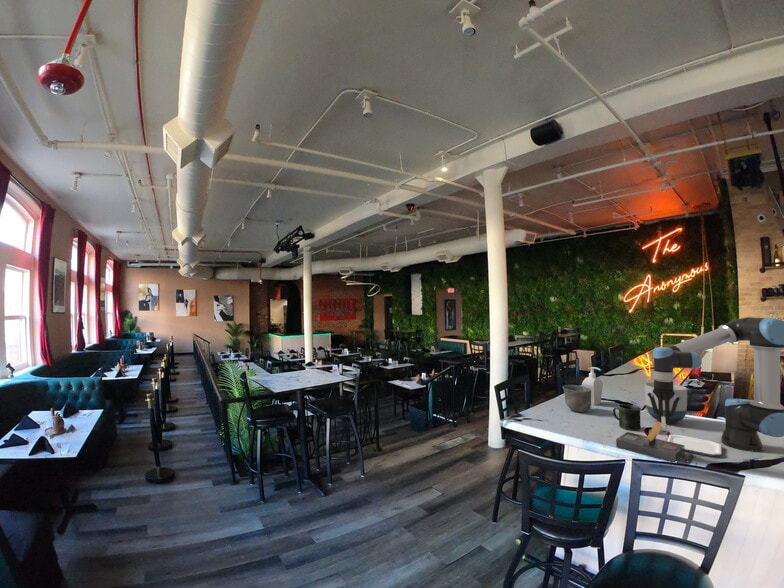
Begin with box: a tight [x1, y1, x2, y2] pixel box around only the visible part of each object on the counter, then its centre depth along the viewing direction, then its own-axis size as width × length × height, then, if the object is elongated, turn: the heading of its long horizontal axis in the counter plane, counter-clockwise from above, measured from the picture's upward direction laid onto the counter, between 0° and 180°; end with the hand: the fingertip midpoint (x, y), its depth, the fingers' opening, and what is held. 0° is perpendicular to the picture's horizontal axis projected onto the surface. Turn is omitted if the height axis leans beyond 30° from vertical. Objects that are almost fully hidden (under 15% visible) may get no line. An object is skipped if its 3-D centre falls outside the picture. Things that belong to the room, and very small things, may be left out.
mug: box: [612, 404, 642, 432], centre depth 212 cm, size 11×15×12 cm
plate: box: [666, 434, 723, 457], centre depth 183 cm, size 21×21×2 cm
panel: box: [615, 431, 686, 463], centre depth 179 cm, size 24×16×7 cm, turn 40°
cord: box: [685, 453, 694, 463], centre depth 169 cm, size 1×10×1 cm, turn 131°
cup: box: [562, 384, 592, 413], centre depth 245 cm, size 18×18×15 cm
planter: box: [644, 381, 688, 424], centre depth 222 cm, size 20×20×21 cm
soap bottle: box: [581, 366, 604, 406], centre depth 261 cm, size 12×10×26 cm
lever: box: [646, 420, 662, 442], centre depth 178 cm, size 2×8×11 cm, turn 130°
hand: (664, 430), depth 175 cm, fingers closed
